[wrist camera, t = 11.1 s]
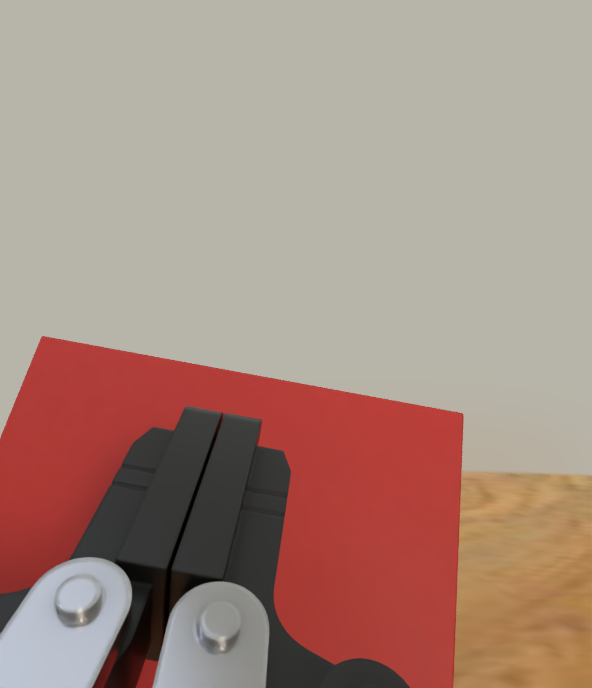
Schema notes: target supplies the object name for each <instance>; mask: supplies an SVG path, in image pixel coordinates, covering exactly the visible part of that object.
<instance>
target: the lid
mask: <svg viewBox="0 0 592 688" xmlns="http://www.w3.org/2000/svg"><path fill="white" fill-rule="evenodd" d="M186 406H191V407H196V408H202V409H207V410H213V411H218V412H223V414H224V415H225V413H230V414H235V415H240V416H246V417H251V418H257V419H262V425H261V432H260V438H259V445H258V446H261V447H266V448H272V449H277V450H283V451H284V453H285V456H286V459H287V461H288V464H289V467H290V469H291V478H290V484H289V491H288V497H287V505H286V512H285V518H284V525H283V532H282V539H281V546H280V552H279V559H278V566H277V573H276V579H275V586H274V605H275V609H276V613H277V615H278V618H279V620H280V622H281V624H282V625H283V627H284V628H285V630H286V631H287V632H288V633H289V635H290V636H291V637H292V638H293V639H294V640H295V641H297V642H298V643H299V644H300V645H302V646H303V647H305V648H306V649H308V650H310V651H311V652H313V653H315V654H317V655H318V656H320V657H322V658H324V659H326V660H327V661H329V662H331V663H333V664H334V665H336V664H338V663H340V662H342V661H344V660H349V659H353V658H364V659H371V660H374V661H377V662H380V663H382V664H384V665H386V666H388V667H389V668H391V669H392V670H393V671H395V672H396V673H397V674H398V675H399V676H400V677H402V678H403V680H404V681H405V682H406V683H407V684H408V686H409V687H410V688H453V677H454V651H455V625H456V598H457V572H458V546H459V519H460V493H461V467H462V440H463V414H462V413H458V412H451V411H446V410H441V409H436V408H430V407H425V406H419V405H414V404H409V403H403V402H398V401H392V400H387V399H381V398H376V397H370V396H365V395H359V394H354V393H349V392H343V391H338V390H332V389H327V388H321V387H316V386H311V385H305V384H300V383H295V382H289V381H284V380H278V379H273V378H267V377H262V376H257V375H251V374H246V373H240V372H235V371H229V370H224V369H218V368H213V367H208V366H201V365H196V364H191V363H186V362H180V361H175V360H169V359H163V358H159V357H153V356H148V355H142V354H137V353H132V352H126V351H120V350H115V349H110V348H104V347H99V346H93V345H88V344H83V343H77V342H71V341H66V340H61V339H55V338H49V337H44V336H43V337H41V340H40V342H39V344H38V347H37V349H36V352H35V354H34V357H33V359H32V362H31V364H30V367H29V369H28V371H27V374H26V376H25V379H24V381H23V384H22V386H21V389H20V391H19V393H18V396H17V398H16V401H15V403H14V406H13V408H12V411H11V413H10V416H9V418H8V420H7V423H6V426H5V428H4V430H3V433H2V435H1V438H0V594H3V593H10V592H15V591H19V590H23V589H26V588H29V587H31V586H33V585H34V584H35V583H36V582H37V580H38V579H40V578H41V577H42V576H43V575H44V574H45V573H46V572H48V571H49V570H50V569H52V568H54V567H55V566H57V565H59V564H61V563H64V562H66V561H68V560H69V558H70V557H71V555H72V554H73V552H74V550H75V548H76V547H77V545H78V543H79V541H80V539H81V537H82V536H83V534H84V532H85V530H86V528H87V526H88V525H89V523H90V521H91V519H92V517H93V515H94V514H95V512H96V510H97V508H98V506H99V504H100V502H101V501H102V499H103V497H104V495H105V493H106V491H107V490H108V488H109V486H110V485H112V480H113V479H114V477H115V475H116V473H117V471H118V469H119V468H121V466H122V462H123V460H124V458H125V457H126V455H127V453H128V451H129V449H130V447H131V446H132V444H133V442H134V441H136V440H137V439H138V438H140V437H141V436H142V435H143V434H145V433H146V432H147V431H149V430H150V429H151V428H153V427H158V428H163V429H169V430H175V427H176V425H177V423H178V421H179V419H180V416H181V414H182V412H183V410H184V408H185V407H186ZM157 666H158V662H157V661H152V660H147V659H145V662H144V665H143V668H142V671H141V674H140V677H139V680H138V683H137V686H136V688H152V687H153V683H154V679H155V674H156V670H157Z"/></svg>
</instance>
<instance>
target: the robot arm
mask: <svg viewBox="0 0 592 688" xmlns="http://www.w3.org/2000/svg"><path fill="white" fill-rule="evenodd" d="M261 425H262V419H257V418H251V417H246V416H240V415H235V414H230V413H225V415H224V414H223V412H218V411H213V410H207V409H202V408H196V407H191V406H186V407H185V408H184V410H183V412H182V414H181V416H180V419H179V421H178V423H177V425H176V427H175V430H169V429H163V428H158V427H153V428H151V429H150V430H149V431H147V432H146V433H145V434H143V435H142V436H141V437H140V438H138V439H137V440H136V441H134V442H133V444H132V446H131V447H130V449H129V451H128V453H127V455H126V457H125V458H124V460H123V462H122V466H121V468H119V469H118V471H117V473H116V475H115V477H114V479H113V480H112V485H110V486H109V488H108V490H107V491H106V493H105V495H104V497H103V499H102V501H101V502H100V504H99V506H98V508H97V510H96V512H95V514H94V515H93V517H92V519H91V521H90V523H89V525H88V526H87V528H86V530H85V532H84V534H83V536H82V537H81V539H80V541H79V543H78V545H77V547H76V548H75V550H74V552H73V554H72V555H71V557H70V558H69V560H68V561H66V562H64V563H61V564H59V565H57V566H55V567H54V568H52V569H50V570H49V571H48V572H46V573H45V574H44V575H43V576H42V577H41V578H40V579H38V580H37V582H36V583H35V584H34V585H33V586H31V587H29V588H26V589H23V590H19V591H15V592H10V593H3V594H0V688H136V686H137V683H138V680H139V677H140V674H141V671H142V668H143V665H144V662H145V659H147V660H152V661H157V662H158V666H157V670H156V674H155V679H154V683H153V687H152V688H410V687H409V686H408V684H407V683H406V682H405V681H404V680H403V678H402V677H400V676H399V675H398V674H397V673H396V672H395V671H393V670H392V669H391V668H389V667H388V666H386V665H384V664H382V663H380V662H377V661H374V660H371V659H364V658H353V659H349V660H344V661H342V662H340V663H338V664H336V665H334V664H333V663H331V662H329V661H327V660H326V659H324V658H322V657H320V656H318V655H317V654H315V653H313V652H311V651H310V650H308V649H306V648H305V647H303V646H302V645H300V644H299V643H298V642H297V641H295V640H294V639H293V638H292V637H291V636H290V635H289V633H288V632H287V631H286V630H285V628H284V627H283V625H282V624H281V622H280V620H279V618H278V615H277V613H276V609H275V605H274V586H275V579H276V573H277V566H278V559H279V552H280V546H281V539H282V532H283V525H284V518H285V512H286V505H287V497H288V491H289V484H290V478H291V469H290V467H289V464H288V461H287V459H286V456H285V453H284V451H283V450H277V449H272V448H266V447H261V446H258V445H259V438H260V432H261Z"/></svg>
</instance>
